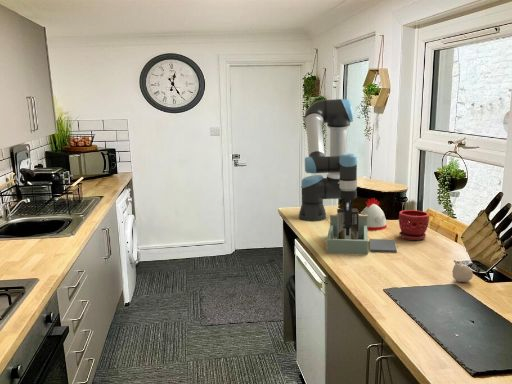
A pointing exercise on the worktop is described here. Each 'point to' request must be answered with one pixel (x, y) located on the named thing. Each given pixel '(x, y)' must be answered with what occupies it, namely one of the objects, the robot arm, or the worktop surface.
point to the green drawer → (347, 239)
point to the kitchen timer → (374, 215)
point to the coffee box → (353, 224)
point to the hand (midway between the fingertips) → (347, 239)
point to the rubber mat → (382, 245)
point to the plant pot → (413, 224)
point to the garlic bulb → (462, 272)
